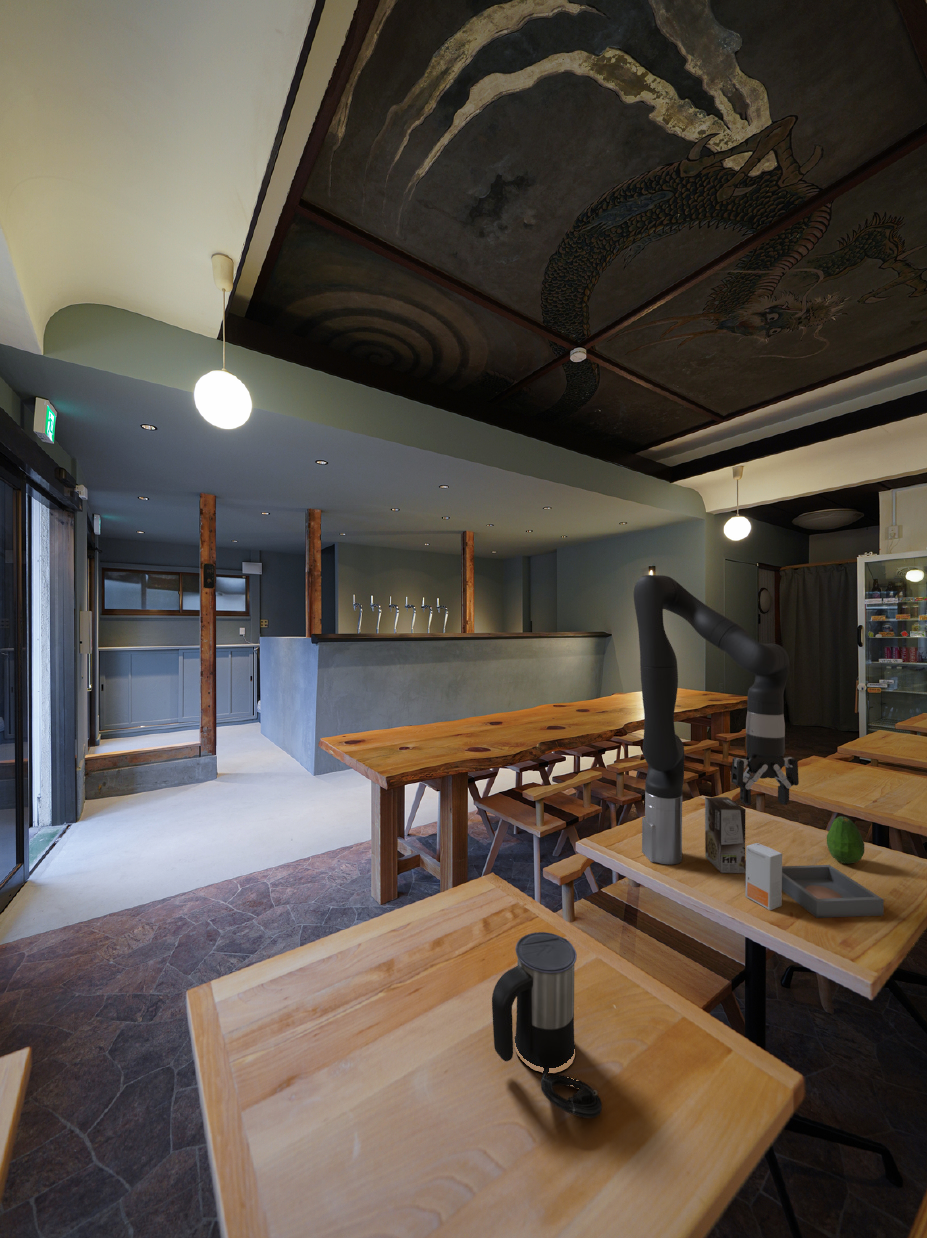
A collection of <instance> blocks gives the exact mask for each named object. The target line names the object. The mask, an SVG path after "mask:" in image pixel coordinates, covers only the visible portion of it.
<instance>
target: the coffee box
mask: <svg viewBox="0 0 927 1238" xmlns="http://www.w3.org/2000/svg"><path fill="white" fill-rule="evenodd" d="M704 804H705V805H704V831H705V833H704V836H705V837H704V839H705V841H704V844H705V845H704V846H705V847H704V852H705V854H704V856H705V858H706V859H707V860H708V861H709V863H711V864H712V865H713V866H714V867H715V868H716V869H717V871H719V872H720V873H721V874H723V873H724V874H725V873H726V874H746V813H747V812H746V808H744V807H743V806H741V805H740V804H738V803H737V802H735V801H734V800H732V798H730V797H727V796H714V797H705V798H704Z"/></svg>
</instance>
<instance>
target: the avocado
mask: <svg viewBox="0 0 927 1238" xmlns="http://www.w3.org/2000/svg"><path fill="white" fill-rule="evenodd" d="M826 845H827V849H828V851H829V853H830V856H832V858H833V859H835V860H836V861H838V862H839V863H842V864H847V865H848V864H855V863H858V862H860V860H862V858H863V857H864V854H865V842H864V840H863V836H862V834H861V832H860V830H859V828H858V826H857V825H856V824H855V822H853V820H852V819H850V818H848V817H847V816H837V817H836V818H835V819H833V822H832V824H831V825H830V829H828V832H827V834H826Z"/></svg>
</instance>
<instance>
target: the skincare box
mask: <svg viewBox="0 0 927 1238" xmlns="http://www.w3.org/2000/svg"><path fill="white" fill-rule="evenodd" d="M782 866H783V853H782V852H780V851H777V850H775V849H773V848H772V847H769V846H766V845H763V844H761V843H759V842H755V843H752V844H748V845H745V894H744V895H745V898H747V899H749V900H750V901H753V902H755V903H756V904H758V905H760V906H761V907H763V908H765V909H767V910H768V911H773V910H775V909H777V908H780V907H782V905H783V904H782V903H783V901H782V899H783V898H782V897H783V896H782V895H783V894H782V892H783V891H782Z"/></svg>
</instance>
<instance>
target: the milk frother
mask: <svg viewBox="0 0 927 1238" xmlns="http://www.w3.org/2000/svg"><path fill="white" fill-rule="evenodd" d="M515 954H516V957H517V965H516V966H514V967H513V968H510V969H508V970H507V971H505V972H504V973H503V974H502V975H501V977H499V979H498V980H497V981H496V983H495V985H494V988H493V991H492V995H491V996H492V997H491V1006H492V1007H491V1010H492V1014H491V1015H492V1029H493V1031H492V1032H493V1044H494V1045H493V1046H494V1051H495V1052H496V1054H498V1056H499V1057H500V1058H501V1060H503V1061H504V1062H510V1061H511V1060H512V1059H513V1056H514V1039H515V1043H516V1047H517V1049H518V1051H519V1053H520V1054H521V1055H522V1056H523V1058H524V1059H526V1060H527V1061H529V1062H530V1063H532V1064H534V1065H536V1066H540V1067H543V1068H544V1071H543V1074H542V1076H541V1080H540V1087H541V1092H542V1094H543V1095H544V1096H545V1098H546V1099H547V1100H548V1101H549V1102H550V1103H552V1104H553V1105H554V1106H555V1107H557V1108H559V1109H561V1110H562V1111H564V1112H567V1113H569V1114H571V1115H574V1116H577V1117H580V1118H587V1119H590V1118H593V1119H594V1118H597V1117H598V1116H599V1115H600V1114H601V1113H602V1108H603V1106H602V1103H603V1102H602V1101H601V1100H602V1099H601V1098H600V1096H599V1095H598V1091H597V1090H596V1089H595V1090H594V1089H593V1088H592V1087H591V1086H589V1085H588V1084H586V1083H585V1082H583V1081H582V1080H580V1079H578V1080H579V1081H576V1080H577V1078H575V1079H574V1077H571V1076H568V1075H567V1076H566V1075H562V1074H560V1075H559V1074H551V1075H549V1074H548V1072H549V1068H556V1067H559V1066H561V1065H563V1064H564V1063H567V1061H568V1060H569V1059H571V1057H572V1056H573V1054H574V1049H575V1046H576V1044H575V1045H574V1043H575V963H576V962H577V951H576V949H575V947H574V945H573V944H572V943H571V942H570V940H568V939H566V938H564V937H563V936H560V935H559V934H555V933H552V932H545V931H539V932H531V933H528V934H524V936H521V938H519V940H518V941H517V942H516V944H515ZM515 1000H516V1012H515V1013H516V1019H515V1020H516V1021H515V1035H516V1036H514V1035H513V1034H514V1033H513V1005H514V1002H515ZM513 1036H514V1037H513ZM513 1038H514V1039H513ZM567 1077H569V1078H567ZM570 1077H571V1078H573V1079H574V1080H573V1079H571V1078H570ZM558 1085H559V1086H566V1085H569V1086H568V1087H570V1085H573V1086H574V1087H575V1088H574V1089H576V1088H579V1089H580V1090H578V1091H576V1093H574V1094H572V1096H569V1097H567V1099H565V1098H564V1097H563V1096H562V1095H560V1094H558V1093H557V1092H555V1090H554V1088H553V1087H555V1086H558Z"/></svg>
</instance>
